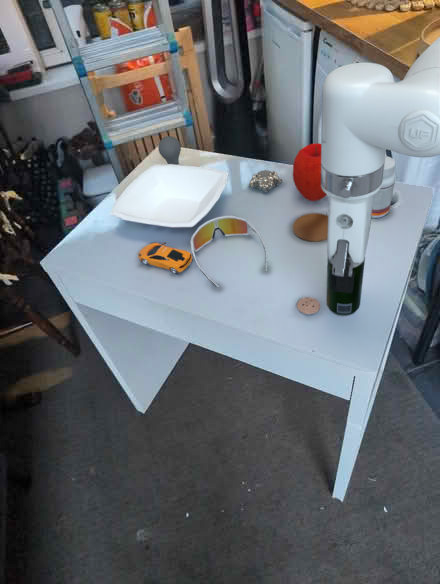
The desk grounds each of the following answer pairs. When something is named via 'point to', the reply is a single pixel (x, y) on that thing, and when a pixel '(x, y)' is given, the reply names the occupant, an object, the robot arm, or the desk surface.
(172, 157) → the light bulb
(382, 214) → the pill bottle
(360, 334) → the desk surface
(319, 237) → the coaster
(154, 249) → the toy car
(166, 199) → the bowl
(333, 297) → the beer can
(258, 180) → the ornament
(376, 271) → the desk surface
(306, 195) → the apple
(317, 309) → the cookie
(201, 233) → the sunglasses
